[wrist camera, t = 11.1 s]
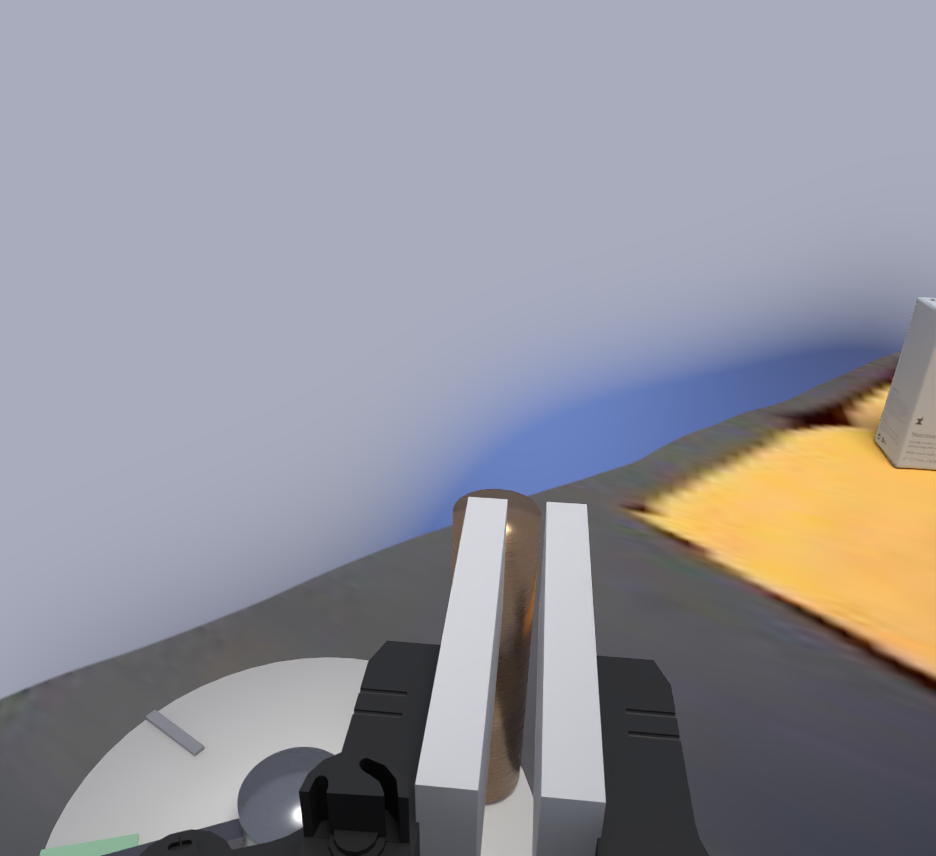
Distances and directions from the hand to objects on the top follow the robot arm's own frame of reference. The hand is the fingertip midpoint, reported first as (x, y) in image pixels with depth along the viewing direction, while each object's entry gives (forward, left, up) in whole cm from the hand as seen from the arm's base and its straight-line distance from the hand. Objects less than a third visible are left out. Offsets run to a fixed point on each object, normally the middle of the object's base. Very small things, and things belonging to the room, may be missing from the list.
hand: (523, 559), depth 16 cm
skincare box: (-69, +5, -26) cm, 73 cm away
